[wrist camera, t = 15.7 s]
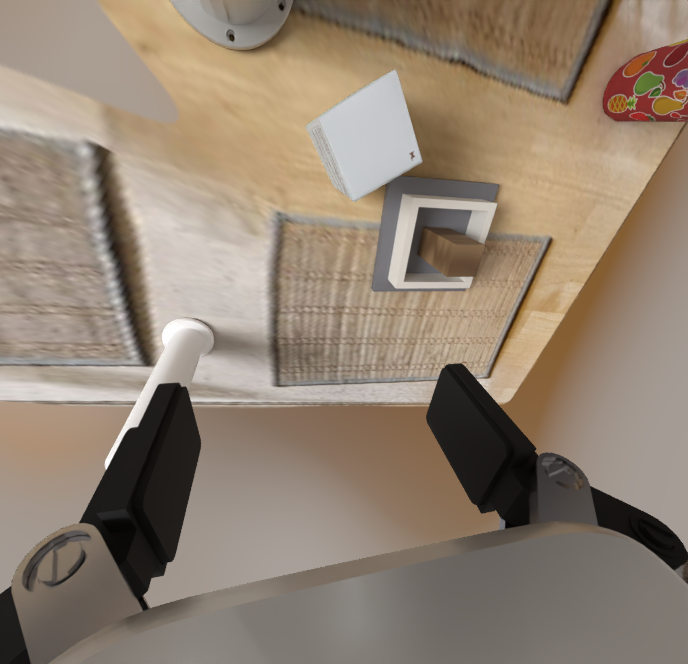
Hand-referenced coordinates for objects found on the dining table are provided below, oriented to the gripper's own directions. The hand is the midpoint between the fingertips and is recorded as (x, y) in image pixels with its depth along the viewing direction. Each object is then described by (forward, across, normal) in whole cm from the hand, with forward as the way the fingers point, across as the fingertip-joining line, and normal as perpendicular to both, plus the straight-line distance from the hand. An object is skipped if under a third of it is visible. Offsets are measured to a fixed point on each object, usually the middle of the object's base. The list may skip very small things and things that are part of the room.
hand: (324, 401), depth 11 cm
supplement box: (+34, -7, -9) cm, 35 cm away
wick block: (+32, -21, +2) cm, 38 cm away
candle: (+34, +15, +18) cm, 41 cm away
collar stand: (+33, -21, +2) cm, 39 cm away
